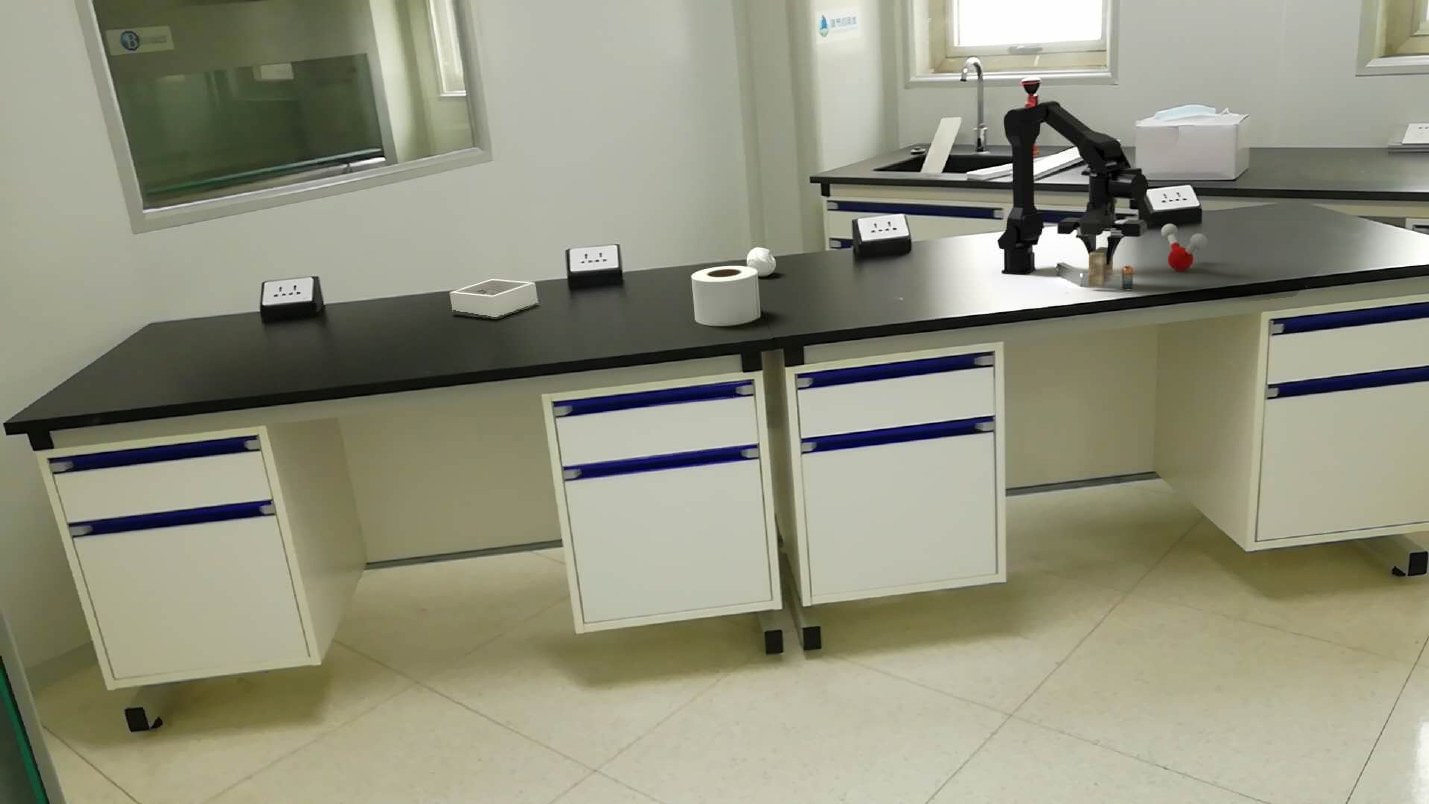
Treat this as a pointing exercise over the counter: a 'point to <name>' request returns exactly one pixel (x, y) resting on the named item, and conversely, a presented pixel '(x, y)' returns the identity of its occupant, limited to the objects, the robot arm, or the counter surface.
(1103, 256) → the arch
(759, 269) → the crumpled paper ball
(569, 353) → the counter surface
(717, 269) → the toilet paper roll
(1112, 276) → the bent rail
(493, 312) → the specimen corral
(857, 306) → the counter surface
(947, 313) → the counter surface
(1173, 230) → the molecular model
